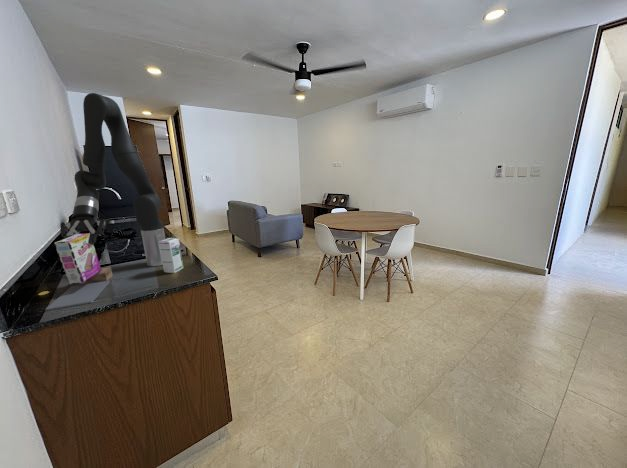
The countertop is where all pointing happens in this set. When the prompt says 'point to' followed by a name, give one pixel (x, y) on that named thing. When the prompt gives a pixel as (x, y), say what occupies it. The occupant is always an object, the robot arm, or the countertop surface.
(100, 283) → the mat
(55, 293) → the countertop surface
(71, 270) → the candy bar box
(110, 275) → the walnut step
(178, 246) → the syrup box
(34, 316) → the countertop surface
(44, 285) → the countertop surface
